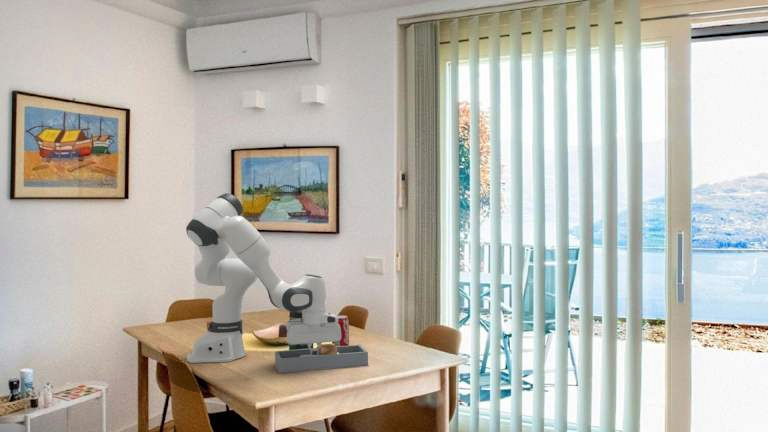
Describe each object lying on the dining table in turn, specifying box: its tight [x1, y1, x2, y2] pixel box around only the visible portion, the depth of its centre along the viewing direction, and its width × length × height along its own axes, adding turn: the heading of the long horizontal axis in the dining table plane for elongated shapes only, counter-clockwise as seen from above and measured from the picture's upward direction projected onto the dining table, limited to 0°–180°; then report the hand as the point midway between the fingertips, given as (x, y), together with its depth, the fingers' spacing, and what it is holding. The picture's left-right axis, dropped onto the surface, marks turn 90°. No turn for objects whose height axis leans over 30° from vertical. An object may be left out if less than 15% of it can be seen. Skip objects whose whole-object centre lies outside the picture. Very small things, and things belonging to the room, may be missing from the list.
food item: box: [278, 323, 288, 337], centre depth 258 cm, size 14×8×10 cm, turn 142°
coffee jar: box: [288, 310, 314, 350], centre depth 238 cm, size 10×8×19 cm
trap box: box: [274, 344, 369, 374], centre depth 220 cm, size 33×12×5 cm, turn 106°
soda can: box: [331, 314, 350, 346], centre depth 246 cm, size 7×7×13 cm
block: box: [319, 343, 337, 355], centre depth 220 cm, size 6×6×4 cm
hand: (314, 354), depth 219 cm, fingers closed
